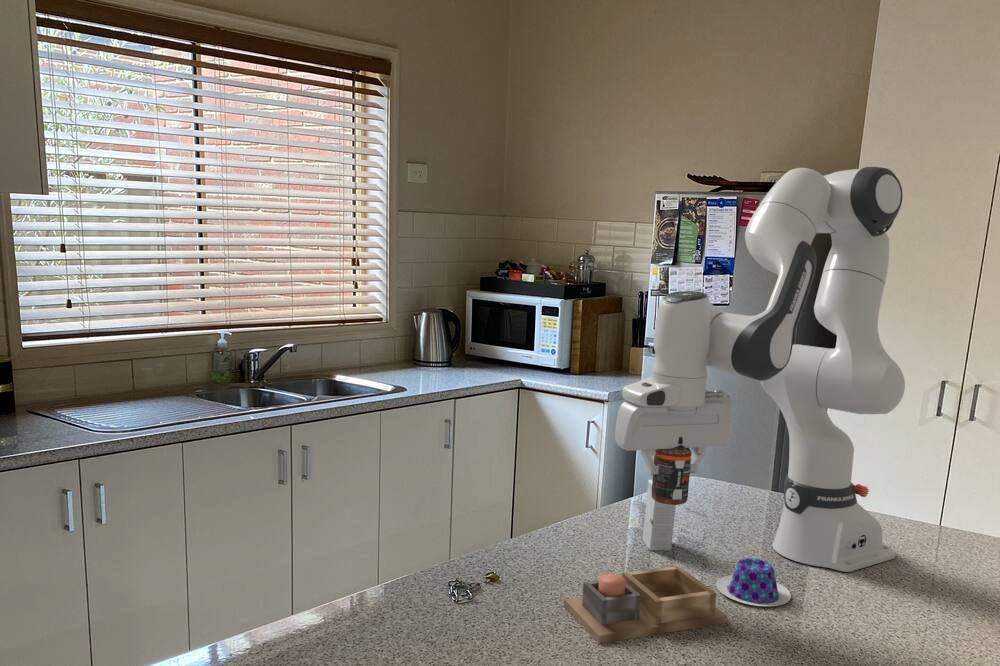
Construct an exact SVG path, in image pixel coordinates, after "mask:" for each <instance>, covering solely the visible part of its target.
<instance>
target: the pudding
mask: <svg viewBox="0 0 1000 666" xmlns="http://www.w3.org/2000/svg"><path fill="white" fill-rule="evenodd" d="M727 586H728V587H727ZM716 588H717V590H718V591H719V592H720V593H721V594H722V595H724V596H725V597H728V598H729V599H731V600H733V601H736V602H739V603H741V604H742V603H743V604H746V605H749V606H754V607H755V606H756V607H778V606H782V605H785V604H787V603H788V602H790V600H791V599H792V594H791V592H790V590H788V588H787V587H785V586H784V585H782V584H781V583H779V582H777V578H776V572H775V569H774V567H773V566H772V565H771V564H770V563H769V562H767V561H765V560H762V559H759V558H751V557H748V558H747V557H746V558H744V559H743V558H742V559H739V560H738V561H737V564H736V565H735V568H734V571H733V573H732V574H729V575H725V576H722V577H720V578H718V580H717V581H716ZM733 595H734V596H733Z"/></svg>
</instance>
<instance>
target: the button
mask: <svg viewBox="0 0 1000 666" xmlns="http://www.w3.org/2000/svg"><path fill="white" fill-rule="evenodd" d="M598 580H599V589H598V591H599V592H600V593H601V594H602V595H603V596H604V597H605V598H606V597H613V596H620V595H625V582H626V580H625V579H624V578H623V577H622V575H619V574H616V573H615V574H614V573H606V574H602V575H600V576H599V577H598Z"/></svg>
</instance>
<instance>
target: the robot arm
mask: <svg viewBox="0 0 1000 666" xmlns="http://www.w3.org/2000/svg"><path fill="white" fill-rule="evenodd" d="M902 202H903V187H902V184H901V181H900V180H899V178H898V177H897V175H896V174H895V173H894V172H893V171H892V170H890V169H889V168H886V167H881V166H880V167H879V166H866V167H863V168H854V169H847V170H846V169H845V170H839V171H835V172H832V173H829V174H824V175H822V173H820V172H819V171H817V170H814V169H812V168H808V167H796V168H793V169H790V170H789V171H788V170H787V172H785V173H784V174H783V175H782V176H781V178H779V179H778V180H777V181H776V182H775V183H774V184H773V186H772V187H771V188H770V189H769V191H767V193H766V195H765V196H764V197H763V199H762V200H761V201H760V203H759V205H758V207H756V209H755V211H754V212H753V214H752V216H751V218H750V220H749V222H748V223H747V226H746V229H745V232H744V240H745V245H746V248H747V250H748V252H749V255H750V256H751V257H752V258H753V259H754V261H756V263H758V264H759V265H760V266H761V267H762V268H763V269H765V270H766V271H769V272H771V273H772V274H775V275H776V276H778V277H777V279H776V282H775V285H774V287H773V291H772V293H771V294H770V295H771V296H770V299H769V301H768V303H767V306H766V309H765V310H764V311H762V312H760V313H758V314H755V315H745V314H740V313H739V314H738V313H732V312H728V311H723V310H722V309H720V308H718V307H716V306H715V305H714V304H713V303H712V302H711V301H710V298H709V295H708V294H707V293H705V292H702V291H698V290H697V291H696V290H686V291H685V290H683V291H682V290H681V291H680V290H679V291H674V292H671V293H668V294H666V295H665V296H663V297H662V299H661V300H660V303H659V306H658V310H657V313H656V317H655V318H656V319H655V324H654V335H653V349H654V362H653V365H652V366H651V374H650V376H649V377H647V378H644V379H642V380H638V381H637V382H636V381H635V382H633V383H631V384H628V385H627V384H626V386H623V388H622V390H621V395H622V396H621V397H622V399H623V400H625V401H624V402H622V403H621V405H620V407H619V408H618V411H617V415H616V422H615V430H614V440H615V443H616V444H617V445H618V446H619V447H620V448H621V449H624V450H626V451H628V452H629V451H631V452H632V451H640V454H641V457H642V458H643V461H644V462H645V474H646V475H648V476H649V477H650V476H651V477H653V476H654V475H658V474H659V472H658V470H659V465H658V464H656V463H654V458H653V457H654V454H655V449H671V448H675V447H677V446H679V445H683V446H684V447H685V448H689V449H690V450H691V466H690V474H697V473H698V470H699V469H698V468H699V464H700V462H701V460H702V459H703V457H704V455H705V454H706V448H709V447H710V448H711V447H712V448H713V447H727V446H728V445H729V443H730V442H731V440H732V437H733V436H732V432H733V431H732V426H733V425H732V413H731V410H732V398H731V396H730V395H729V394H728V393H727V392H725V390H722V389H721V390H720V389H717V390H707V379H708V378H707V377H708V371H707V368H712V369H716V370H719V371H723V372H726V373H727V372H729V373H731V374H733V373H734V374H738V375H740V376H743V377H746V378H750V379H753V380H756V381H759V382H760V384H761V387H762V389H763V390H764V391H765V392H766V394H767V395H768V396H769V397H770V398H771V399H772V400H773V401H774V402H775V403H776V405H777V407H778V408H779V410H780V412H781V414H782V415H783V418H784V421H785V423H786V427H787V431H788V439H789V440H788V441H789V442H788V443H789V445H788V446H789V451H788V452H789V455H788V456H789V457H788V471H787V474H785V478H784V484H783V485H784V487H783V497H784V501H783V507H782V511H781V515H780V519H779V520H780V521H779V524H778V528H777V530H776V534H775V537H774V539H773V542H772V548H773V550H774V551H775V552H777V554H779V555H781V556H783V558H787V559H789V560H791V561H795V562H798V563H800V564H804V565H808V566H809V565H810V566H815V567H821V568H829V569H833V570H836V571H839V572H844V573H846V572H847V573H851V572H853V571H854V572H855V571H857V570H861V569H864V568H867V567H870V566H875V565H876V564H880V563H885V562H886V561H890V560H893V559H896V553H895V551H894V550H893V549H892V548H891V547H890V546H888V545H886V544H885V543H884V542H883V530H882V528H883V527H882V526H881V523H880V522H879V521H878V520H877V518H875V517H874V516H873V515H872V514H871V513H869V511H867V510H866V509H865V508H864V507H863V506H862V505H861V504H860V503H858V500H857V495H858V496H860V497H862V498H867V496H868V495H869V492H870V490H869V488H868V486H865V485H862V484H860V483H857V484H853V482H852V475H853V466H854V465H853V464H854V454H855V447H854V444H853V441H852V440H851V438H850V436H849V435H848V434H847V433H846V432H845V431H843V430H842V429H840V428H839V427H838V426H836V425H835V423H834V422H833V421H832V420H831V418H830V416H829V413H828V409H830V410H836V411H840V412H846V413H850V414H851V413H852V414H857V415H887V414H889V413H890V412H892V411H893V410H895V409H896V407H898V405H899V404H900V403H901V401H902V400H903V396H904V394H905V388H906V383H905V376H904V373H903V371H902V369H901V368H900V365H898V363H896V361H894V360H893V359H892V357H891V356H890V355H889V354H888V353H887V350H886V349H885V348H884V346H883V344H882V342H881V338H880V335H879V323H878V322H879V315H880V309H881V303H882V298H883V293H884V290H885V285H886V281H887V276H888V270H889V262H890V239H889V235H888V234H887V233H886V232H888V231H889V230H890V229H891V227H892V225H893V224H894V221H895V219H896V218H897V215H898V214H899V211H900V209H901V207H902ZM818 234H830V237H831V238H830V239H831V248H830V250H829V252H828V255H827V257H826V260H825V263H824V267H823V270H822V273H821V274H822V275H821V277H820V282H819V286H818V290H817V293H816V298H815V301H814V304H813V312H814V316H815V319H816V320H817V321H818V323H819V324H820V325H822V326H823V327H824V328H825V329H827V330H828V331H829V332H830V333H833V334H834V335H836V344H835V347H834V348H829V347H827V348H826V347H820V346H811V345H806V344H804V345H803V344H794V339H795V335H796V330H797V328H798V324H799V322H800V319H801V316H802V313H803V310H804V307H805V304H806V302H807V299H808V295H809V293H810V290H811V287H812V284H813V282H814V281H813V280H814V278H815V274H816V273H815V272H816V269H817V261H818V260H817V254H816V251H815V249H814V247H813V246H812V243H813V241H814V238H815V236H816V235H818ZM679 437H683V444H677V443H678V441H679ZM652 456H653V457H652Z"/></svg>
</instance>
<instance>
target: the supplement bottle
mask: <svg viewBox="0 0 1000 666" xmlns="http://www.w3.org/2000/svg"><path fill="white" fill-rule="evenodd" d="M677 444H683V437H679V441H678V443H677ZM691 455H692V450H691V448H685V447H684V446H683V445H679V446H677V447H675V448H671V449H655V453H654V456H653V462H654V463H656V464H658V465H659V470H658V472H659V474H658V475H654V476H652V478H651V480H652V491H651V492H652V494H651V496H652V498H653V499H654V500H655V501H657V502H659V503H663V504H669V505H676V506H679V505H683V504H685V503H687V501H688V497H689V489H690V488H689V486H690V474H691V473H690V466H691Z"/></svg>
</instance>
